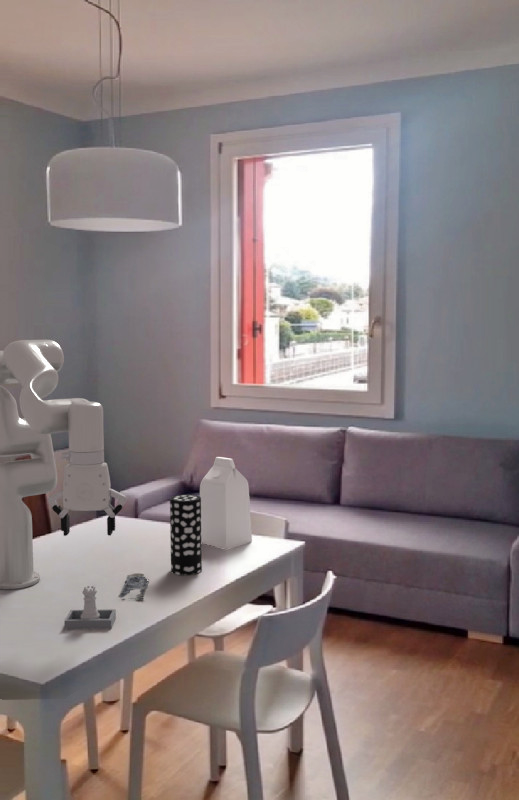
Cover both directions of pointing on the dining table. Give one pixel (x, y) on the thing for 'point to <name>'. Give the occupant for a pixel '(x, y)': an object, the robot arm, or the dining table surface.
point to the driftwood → (135, 585)
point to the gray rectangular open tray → (90, 620)
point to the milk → (225, 506)
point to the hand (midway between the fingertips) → (88, 534)
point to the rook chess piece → (89, 604)
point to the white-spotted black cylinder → (185, 534)
